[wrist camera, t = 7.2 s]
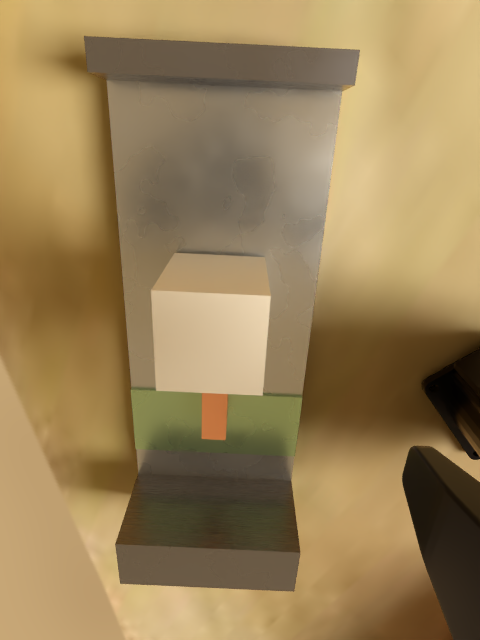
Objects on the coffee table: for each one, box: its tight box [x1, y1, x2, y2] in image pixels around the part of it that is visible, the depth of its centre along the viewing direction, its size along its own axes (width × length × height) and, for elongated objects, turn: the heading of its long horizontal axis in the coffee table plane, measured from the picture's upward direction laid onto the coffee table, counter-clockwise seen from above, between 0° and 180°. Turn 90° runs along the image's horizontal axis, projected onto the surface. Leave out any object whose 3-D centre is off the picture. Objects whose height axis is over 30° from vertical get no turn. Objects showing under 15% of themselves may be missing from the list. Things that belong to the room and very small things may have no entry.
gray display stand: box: [84, 36, 360, 591], centre depth 18 cm, size 24×9×6 cm, turn 177°
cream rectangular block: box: [151, 253, 271, 440], centre depth 17 cm, size 9×4×5 cm, turn 177°
